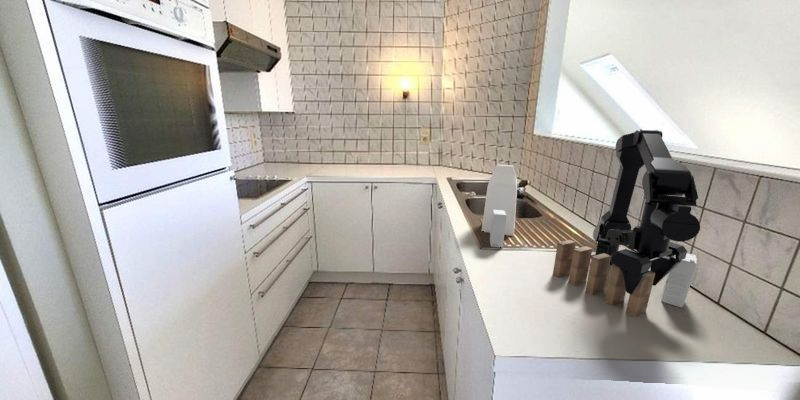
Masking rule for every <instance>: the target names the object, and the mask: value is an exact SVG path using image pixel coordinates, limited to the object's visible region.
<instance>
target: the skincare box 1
mask: <svg viewBox="0 0 800 400" xmlns="http://www.w3.org/2000/svg"><path fill="white" fill-rule="evenodd" d="M506 216H507V215H506V213H505V211H504V210H493V214H492V223H491V232H490V234H489V243H490V247H491V248H500V247H501V248H504V244H505V243H504V240H505V235H504V234H505V225H506Z"/></svg>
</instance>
